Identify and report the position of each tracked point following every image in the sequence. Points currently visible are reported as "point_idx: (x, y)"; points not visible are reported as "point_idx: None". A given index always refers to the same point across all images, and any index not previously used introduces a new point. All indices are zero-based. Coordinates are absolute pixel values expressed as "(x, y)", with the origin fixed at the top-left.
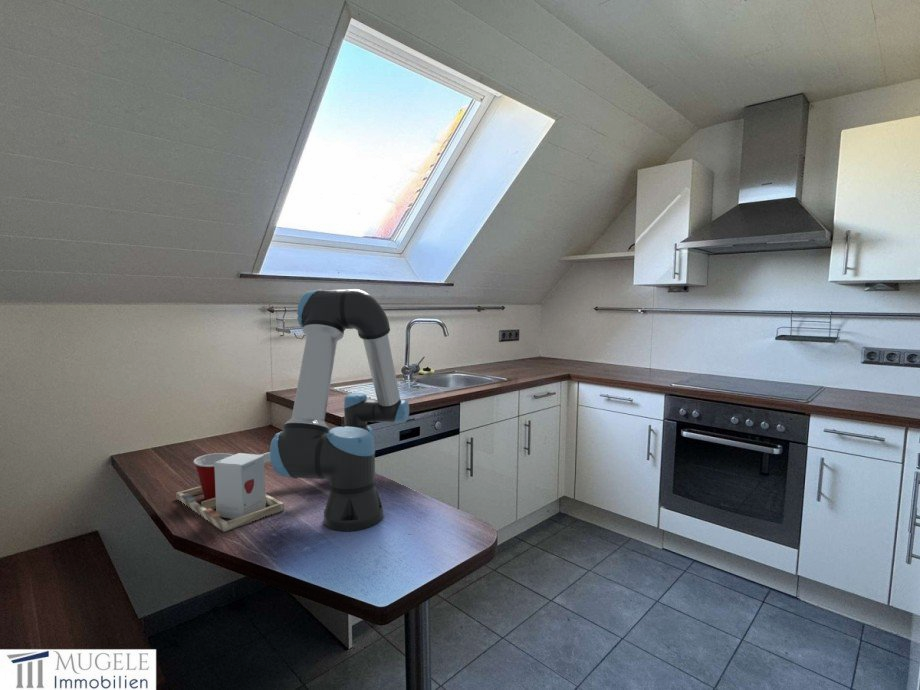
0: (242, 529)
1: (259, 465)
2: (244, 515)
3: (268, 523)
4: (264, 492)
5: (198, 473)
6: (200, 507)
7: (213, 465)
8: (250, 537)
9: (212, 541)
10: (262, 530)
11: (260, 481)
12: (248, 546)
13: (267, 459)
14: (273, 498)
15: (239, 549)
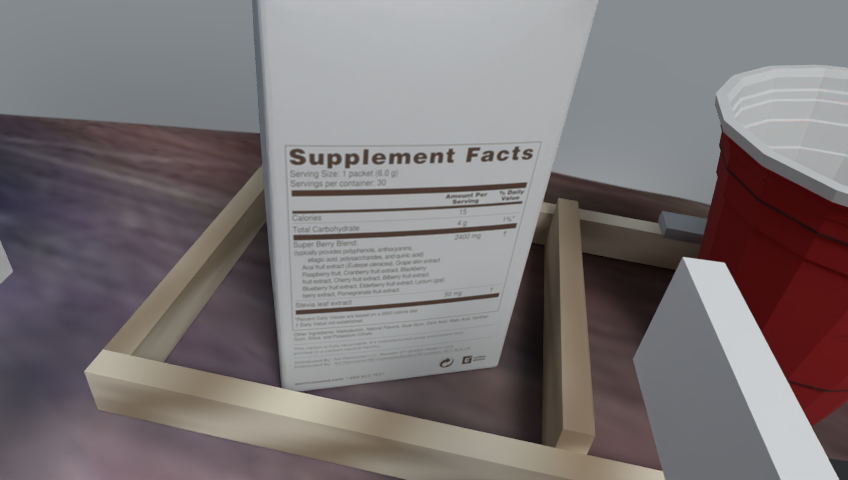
0: (206, 209)
1: (255, 36)
2: (242, 207)
3: (103, 269)
4: (275, 300)
5: (828, 166)
6: (545, 205)
7: (722, 86)
8: (112, 184)
9: (254, 146)
10: (91, 224)
11: (265, 182)
12: (73, 152)
13: (668, 397)
14: (241, 399)
15: (98, 138)
